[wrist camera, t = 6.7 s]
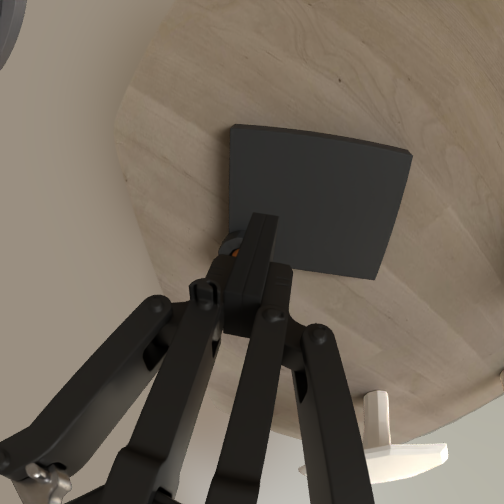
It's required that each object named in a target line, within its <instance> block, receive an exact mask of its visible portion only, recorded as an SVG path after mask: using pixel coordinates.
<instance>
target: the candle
mask: <svg viewBox="0 0 504 504" xmlns="http://www.w3.org/2000/svg"><path fill="white" fill-rule="evenodd" d="M500 380H501V383H502V387H503V391H504V370H503V371H502V372H501V374H500Z"/></svg>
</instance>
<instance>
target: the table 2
mask: <svg viewBox="0 0 504 504" xmlns="http://www.w3.org/2000/svg"><path fill="white" fill-rule="evenodd" d="M362 445H363V449H364V454H365V458H366V463H367V467H368V472H369V477H370V482H371V484H376V483H383V482H389V481H394V480H400V479H404V478H409V477H413V476H415V475H418V474H420V473H422V472H425V471H427V470H429V469H432V468H433V467H436V466H438V465H440V464H442V463H444V461H446V460H447V458H448V451H447V445H446V443H440V444H410V445H408V444H407V445H402V444H391V437H390V429H389V403H388V394H387V392H386V391H380V390H376V391H373V392H369V393H367V394H366V395H365V396H364V434H363V443H362ZM298 470H299V472H300V473H302V474H303V475H305V476H307V473H306V466H305V465H304V466H302V467H300V468H299V469H298Z"/></svg>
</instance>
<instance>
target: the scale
mask: <svg viewBox="0 0 504 504" xmlns="http://www.w3.org/2000/svg"><path fill="white" fill-rule="evenodd" d="M412 158H413V155H412V154H411V153H410V152H409V151H408V150H405V149H401V148H397V147H393V146H388V145H384V144H379V143H374V142H370V141H365V140H359V139H354V138H348V137H343V136H337V135H331V134H324V133H318V132H311V131H303V130H295V129H287V128H278V127H268V126H256V125H243V124H235V125H233V126H232V127H231V128H230V165H229V234H228V235H227V237H226V238H225V239H224V241H223V242H222V244H221V246H220V248H219V251H218V253H219V255H220V254H223V255H229V256H232V254H233V252H234V251H235V250H237V249H239V248H240V245H241V243H242V240H243V237H244V235H245V232H246V229H247V227H248V224H249V221H250V219H251V216H252V213H253V212H256V213H262V214H269V215H276V216H279V221H278V229H277V236H276V244H275V251H274V257H273V262H276V263H282V264H288V265H290V266H291V268H292V269H298V270H305V271H312V272H319V273H326V274H333V275H340V276H347V277H354V278H362V279H369V280H375V278H376V276H377V273H378V270H379V268H380V265H381V262H382V259H383V257H384V254H385V251H386V248H387V245H388V242H389V239H390V236H391V233H392V230H393V227H394V223H395V220H396V217H397V214H398V210H399V207H400V204H401V200H402V197H403V193H404V189H405V186H406V182H407V178H408V174H409V170H410V166H411V162H412Z"/></svg>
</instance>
